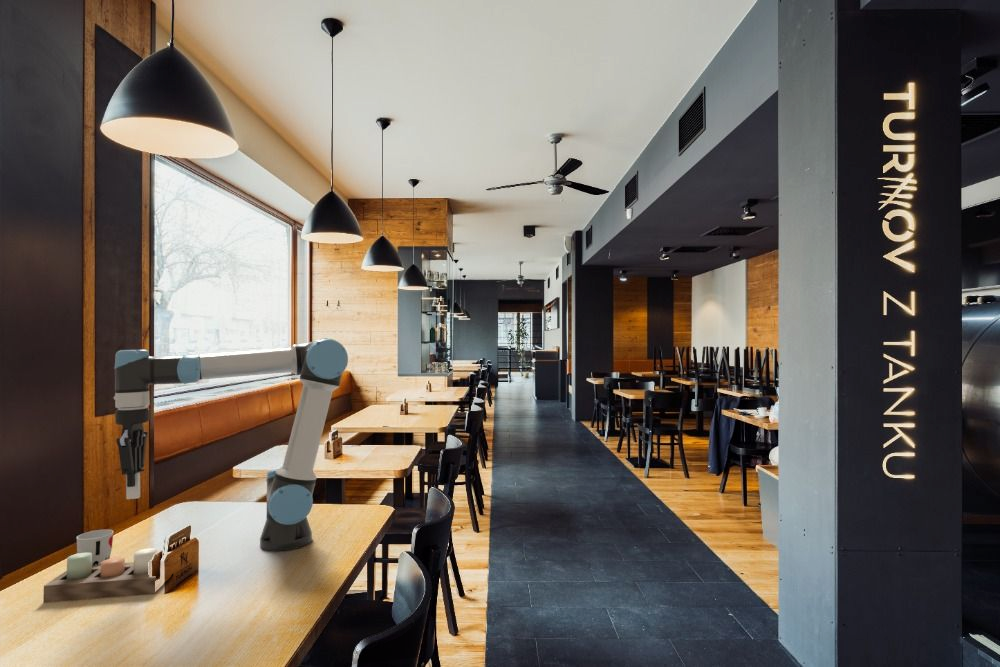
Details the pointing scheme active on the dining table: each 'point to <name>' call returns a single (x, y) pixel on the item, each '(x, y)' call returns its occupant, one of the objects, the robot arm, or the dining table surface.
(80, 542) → the cup
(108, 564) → the pink rounded cube
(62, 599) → the wooden slotted tray
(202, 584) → the dining table surface
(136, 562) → the button cream
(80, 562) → the pale green rounded cube
